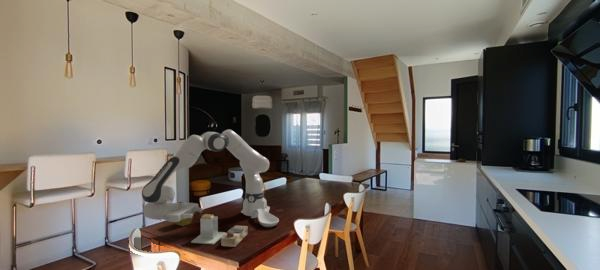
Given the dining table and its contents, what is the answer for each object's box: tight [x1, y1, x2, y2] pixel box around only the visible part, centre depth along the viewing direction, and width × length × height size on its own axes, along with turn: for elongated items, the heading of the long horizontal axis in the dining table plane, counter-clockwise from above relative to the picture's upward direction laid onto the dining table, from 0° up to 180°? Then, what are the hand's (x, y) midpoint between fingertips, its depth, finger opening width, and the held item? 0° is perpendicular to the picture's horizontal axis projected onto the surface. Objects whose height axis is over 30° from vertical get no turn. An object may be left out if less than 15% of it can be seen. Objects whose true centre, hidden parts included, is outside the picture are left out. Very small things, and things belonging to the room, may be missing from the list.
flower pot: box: [175, 212, 195, 227], centre depth 162 cm, size 9×9×9 cm
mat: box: [190, 231, 227, 245], centre depth 142 cm, size 14×12×1 cm
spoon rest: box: [250, 209, 280, 228], centre depth 165 cm, size 24×12×7 cm, turn 39°
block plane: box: [220, 225, 249, 248], centre depth 140 cm, size 17×7×6 cm, turn 170°
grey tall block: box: [200, 213, 219, 239], centre depth 142 cm, size 5×7×11 cm
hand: (197, 212), depth 144 cm, fingers open, 8 cm apart
